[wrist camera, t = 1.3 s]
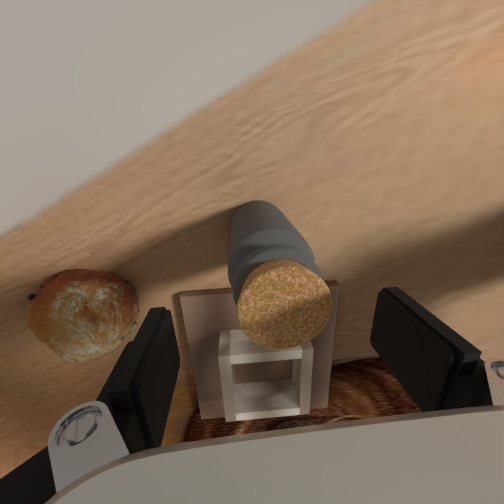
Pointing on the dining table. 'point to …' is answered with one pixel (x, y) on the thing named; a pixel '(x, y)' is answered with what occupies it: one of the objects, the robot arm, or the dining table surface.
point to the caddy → (252, 362)
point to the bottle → (275, 279)
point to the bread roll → (82, 313)
